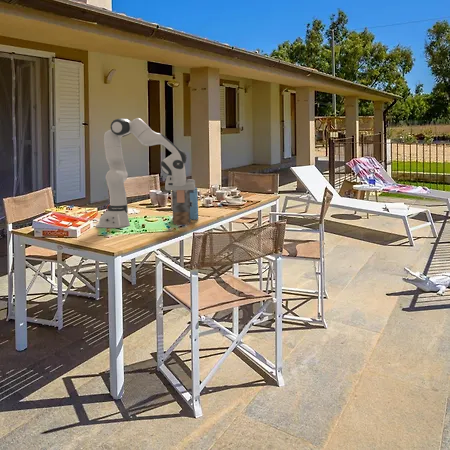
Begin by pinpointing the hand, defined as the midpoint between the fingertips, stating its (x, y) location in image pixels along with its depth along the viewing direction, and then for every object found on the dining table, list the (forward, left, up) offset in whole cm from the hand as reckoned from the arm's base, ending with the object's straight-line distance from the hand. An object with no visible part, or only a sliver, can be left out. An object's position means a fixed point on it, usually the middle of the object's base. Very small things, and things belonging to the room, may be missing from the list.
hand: (180, 192), depth 344 cm
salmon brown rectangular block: (0, -1, -7) cm, 7 cm away
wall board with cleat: (0, -1, -21) cm, 21 cm away
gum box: (+2, +20, -22) cm, 29 cm away
